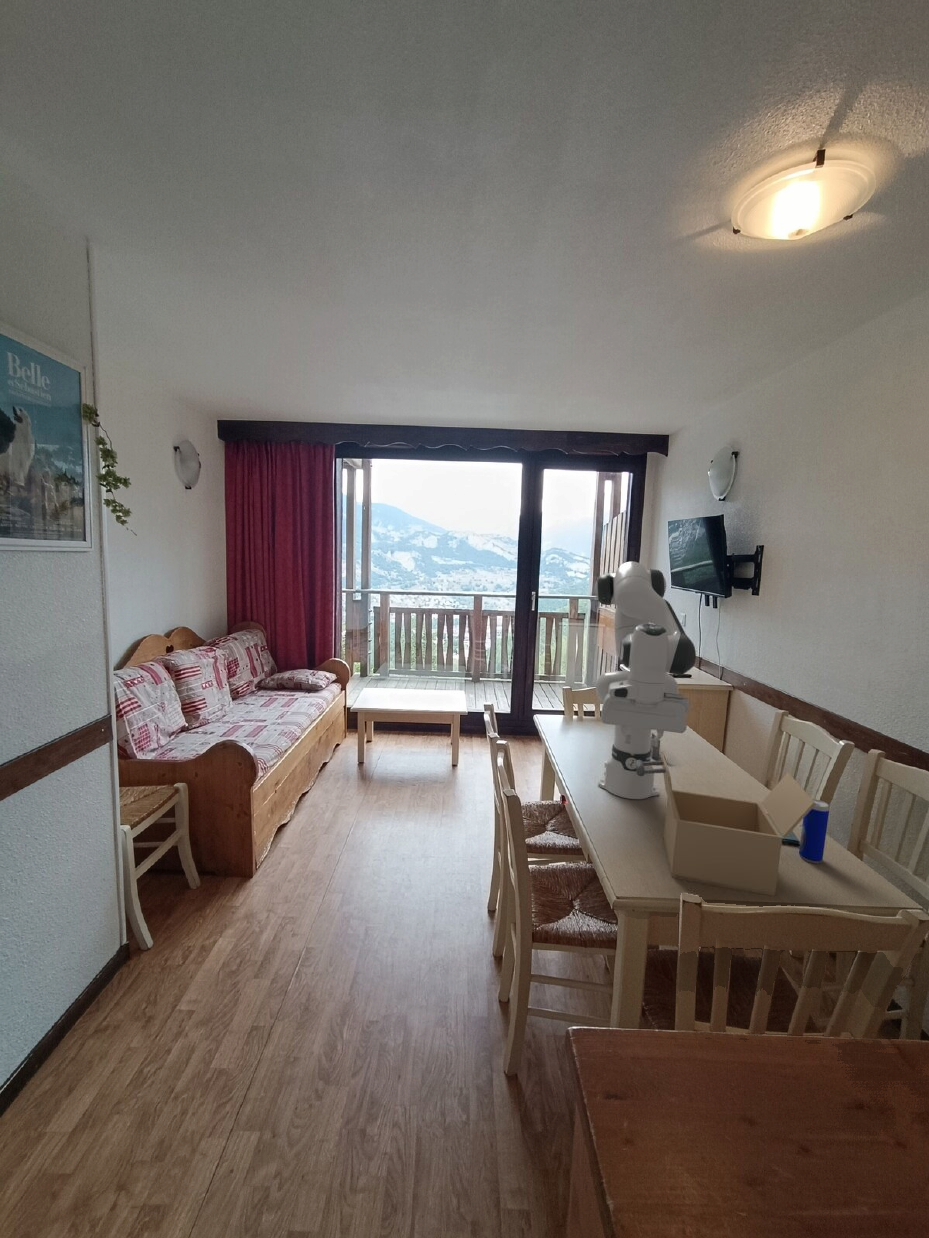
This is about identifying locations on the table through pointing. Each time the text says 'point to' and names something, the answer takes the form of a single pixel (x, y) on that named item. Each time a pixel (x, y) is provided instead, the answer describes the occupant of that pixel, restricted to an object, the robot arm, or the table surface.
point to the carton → (722, 842)
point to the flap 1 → (664, 770)
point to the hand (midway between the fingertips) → (640, 744)
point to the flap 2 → (787, 804)
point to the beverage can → (814, 832)
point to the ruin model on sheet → (655, 749)
